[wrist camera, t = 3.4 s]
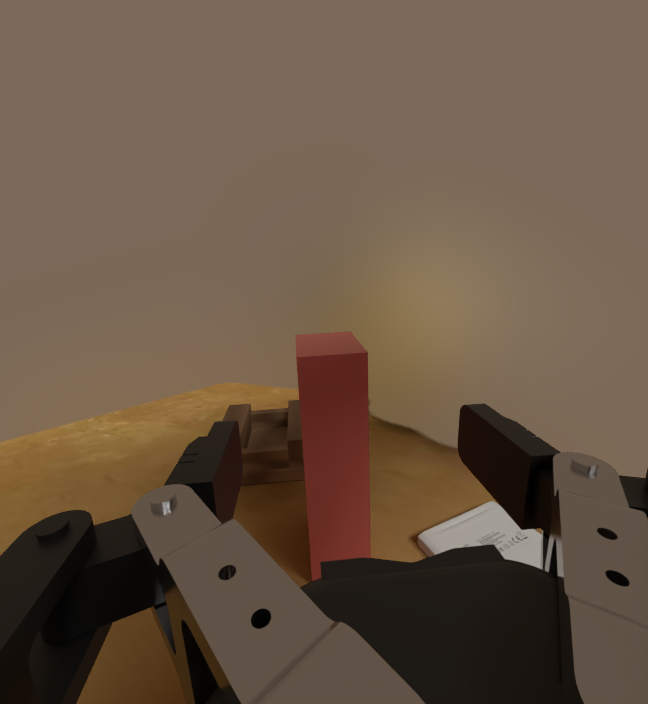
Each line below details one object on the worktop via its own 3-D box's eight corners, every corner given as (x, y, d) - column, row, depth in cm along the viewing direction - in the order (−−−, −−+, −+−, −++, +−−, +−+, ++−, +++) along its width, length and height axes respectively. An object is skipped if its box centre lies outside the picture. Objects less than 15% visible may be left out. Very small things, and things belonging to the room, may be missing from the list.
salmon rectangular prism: (355, 514, 29) (350, 331, 25) (370, 578, 23) (367, 352, 19) (308, 519, 29) (295, 335, 24) (312, 584, 23) (296, 357, 19)
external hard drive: (602, 758, 15) (416, 549, 26) (691, 663, 18) (492, 513, 29) (609, 733, 14) (417, 532, 25) (699, 640, 18) (494, 497, 29)
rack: (322, 426, 45) (320, 396, 44) (330, 477, 34) (329, 439, 33) (222, 434, 44) (218, 404, 43) (199, 489, 33) (193, 451, 32)
